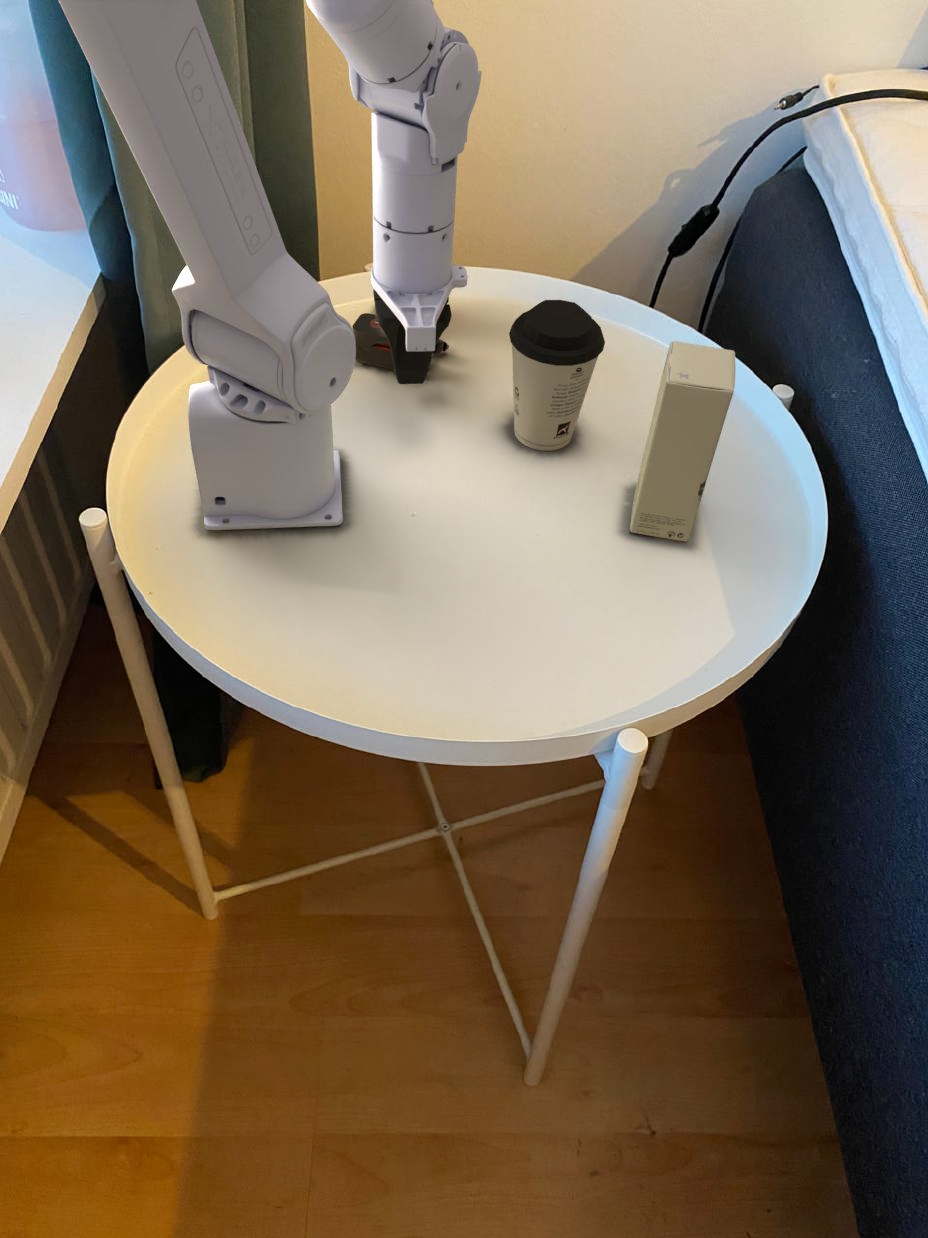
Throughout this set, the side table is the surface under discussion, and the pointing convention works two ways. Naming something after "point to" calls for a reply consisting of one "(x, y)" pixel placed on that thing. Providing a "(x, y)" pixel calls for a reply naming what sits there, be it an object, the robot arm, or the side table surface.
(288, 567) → the side table surface
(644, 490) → the box
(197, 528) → the side table surface
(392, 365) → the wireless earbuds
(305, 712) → the side table surface
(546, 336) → the coffee cup
